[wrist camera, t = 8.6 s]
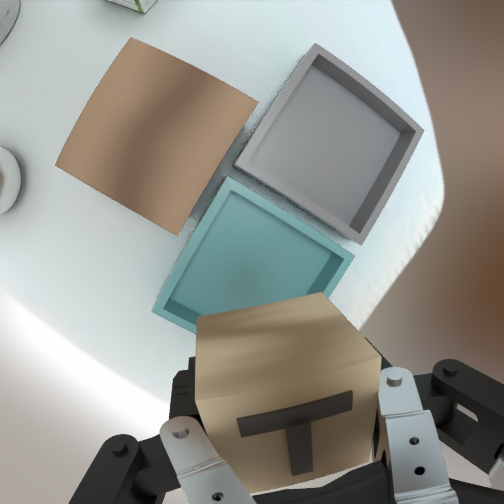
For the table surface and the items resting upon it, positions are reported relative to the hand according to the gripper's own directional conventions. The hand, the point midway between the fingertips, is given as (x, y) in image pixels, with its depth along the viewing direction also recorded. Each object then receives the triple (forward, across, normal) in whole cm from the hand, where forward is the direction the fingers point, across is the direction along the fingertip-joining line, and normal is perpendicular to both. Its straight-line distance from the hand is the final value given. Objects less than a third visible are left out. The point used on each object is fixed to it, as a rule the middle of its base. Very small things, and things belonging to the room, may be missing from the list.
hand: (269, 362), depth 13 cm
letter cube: (0, 0, 0) cm, 0 cm away
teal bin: (+15, -1, +1) cm, 15 cm away
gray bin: (+15, -9, -9) cm, 20 cm away
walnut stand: (+15, +4, -11) cm, 19 cm away
